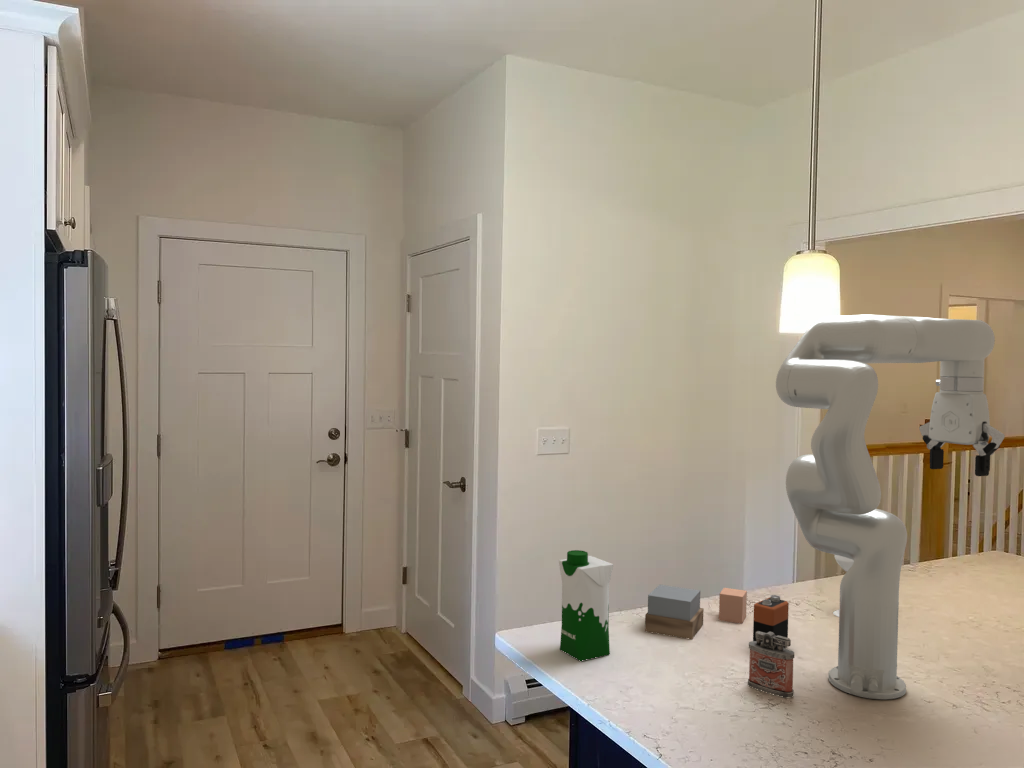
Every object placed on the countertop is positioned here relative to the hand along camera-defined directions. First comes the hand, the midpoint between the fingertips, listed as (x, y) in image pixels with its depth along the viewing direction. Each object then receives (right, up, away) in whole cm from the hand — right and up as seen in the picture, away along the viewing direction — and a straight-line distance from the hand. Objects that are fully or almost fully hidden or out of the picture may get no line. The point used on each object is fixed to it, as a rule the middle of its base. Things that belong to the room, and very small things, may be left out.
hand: (958, 472), depth 155 cm
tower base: (-54, -35, +12) cm, 66 cm away
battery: (-37, -36, +2) cm, 51 cm away
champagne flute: (-12, -35, +22) cm, 43 cm away
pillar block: (-40, -35, +19) cm, 56 cm away
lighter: (-43, -36, -18) cm, 60 cm away
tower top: (-54, -31, +12) cm, 64 cm away
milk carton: (-74, -35, -2) cm, 82 cm away
